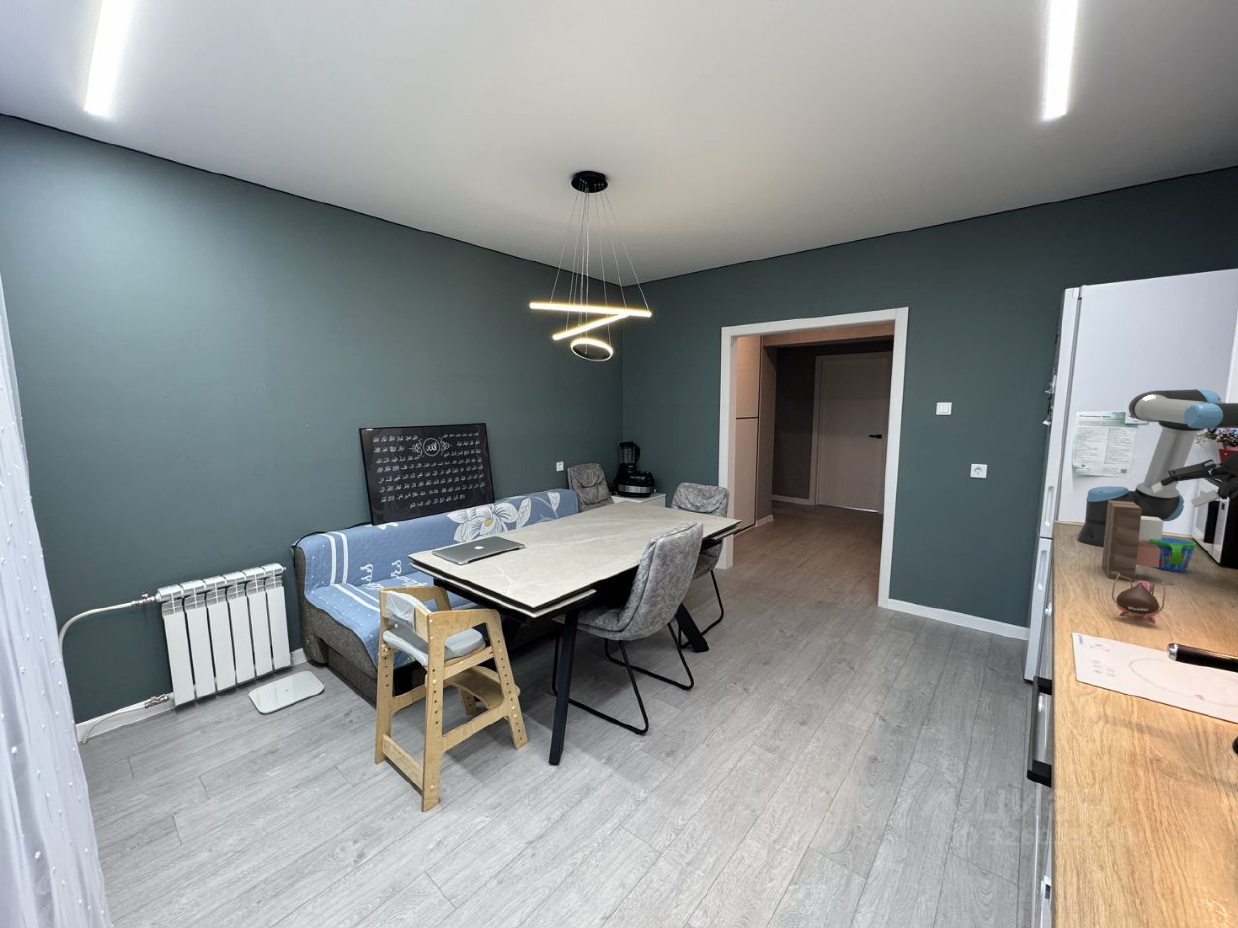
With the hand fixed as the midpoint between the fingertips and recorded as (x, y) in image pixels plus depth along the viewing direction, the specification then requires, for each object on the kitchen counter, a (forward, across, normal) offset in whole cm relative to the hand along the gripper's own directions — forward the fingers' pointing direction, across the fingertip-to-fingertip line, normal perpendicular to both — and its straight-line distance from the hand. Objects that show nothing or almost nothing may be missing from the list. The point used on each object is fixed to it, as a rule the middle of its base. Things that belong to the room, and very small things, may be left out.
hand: (1173, 497), depth 159 cm
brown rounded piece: (+2, -28, -51) cm, 58 cm away
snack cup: (+20, +16, -12) cm, 28 cm away
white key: (+8, -5, -13) cm, 16 cm away
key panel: (+21, -5, -22) cm, 30 cm away
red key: (+14, -2, -19) cm, 24 cm away
